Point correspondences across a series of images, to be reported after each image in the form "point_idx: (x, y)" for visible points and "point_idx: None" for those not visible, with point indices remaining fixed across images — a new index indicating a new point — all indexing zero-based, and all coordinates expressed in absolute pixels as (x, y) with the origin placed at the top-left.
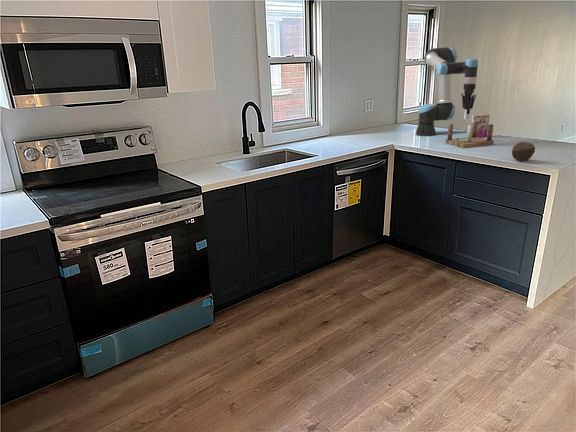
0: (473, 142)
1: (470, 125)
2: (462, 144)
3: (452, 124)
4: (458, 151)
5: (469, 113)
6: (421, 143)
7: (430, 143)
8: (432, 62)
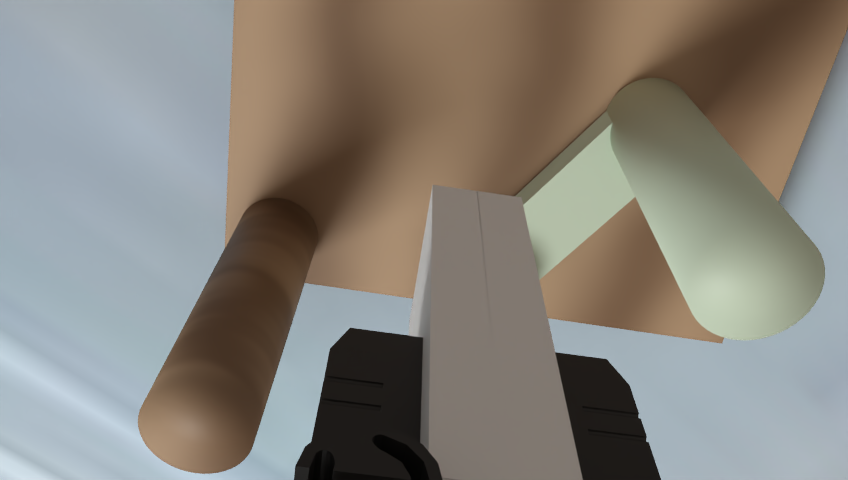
0: (749, 103)
1: (753, 286)
2: (703, 338)
3: (240, 420)
4: (788, 471)
5: (624, 389)
6: (72, 469)
7: (135, 394)
8: None
